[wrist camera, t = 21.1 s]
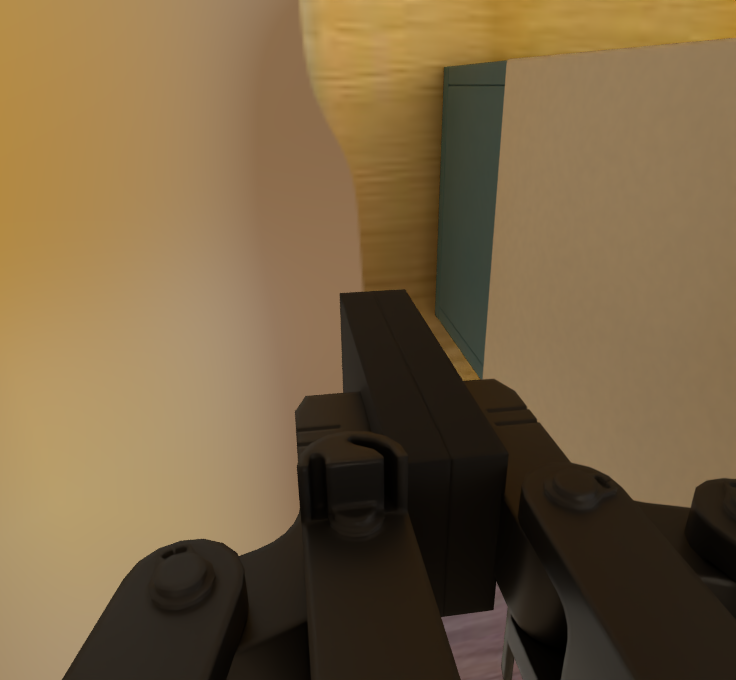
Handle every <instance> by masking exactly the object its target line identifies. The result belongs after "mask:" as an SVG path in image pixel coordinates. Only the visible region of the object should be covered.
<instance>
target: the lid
mask: <svg viewBox="0 0 736 680" xmlns="http://www.w3.org/2000/svg"><path fill="white" fill-rule="evenodd" d="M483 379H496V380H497V381H499V382H501V383H502V384H504V385H506V386H508V387H509V388H511V389H513V390H514V391H515V392H516V393H517V394H518V395H519V397H520V398H521V399H522V400H523V402H524V403H525V404H526V406H527V409H530V411H531V412H532V413H533V415H534V416H535V417H536V418H537V422H540V423H541V425H542V426H543V427H544V429H545V430H546V431H547V432H548V434H549V435H550V436H551V438H552V439H553V440H554V441H555V443H556V444H557V445H558V446H559V448H560V449H561V450H562V452H563V453H564V454H565V455H566V457H567V458H568V459H569V461H570V462H571V463H575V464H579V465H584V466H588V467H591V468H593V469H596V470H598V471H600V472H602V473H604V474H606V475H608V476H609V477H611V478H612V479H613V480H614V481H615V482H617V483H618V484H619V485H620V486H621V487H622V488H623V489H624V490H625V491H626V492H627V493H628V495H629V496H630V497H631V498H632V499H633V500H634V501H640V502H645V503H654V504H663V505H672V506H680V507H689V508H691V504H692V500H693V496H694V492H695V489H696V487H697V486H699V485H700V484H702V483H703V482H705V481H707V480H713V479H720V478H730V479H736V38H729V39H718V40H708V41H697V42H686V43H676V44H665V45H654V46H644V47H633V48H622V49H612V50H601V51H590V52H580V53H569V54H558V55H548V56H537V57H526V58H516V59H508V60H507V65H506V78H505V91H504V105H503V118H502V131H501V144H500V157H499V170H498V183H497V197H496V210H495V223H494V236H493V249H492V262H491V275H490V288H489V302H488V315H487V328H486V341H485V354H484V367H483Z"/></svg>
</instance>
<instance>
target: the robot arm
mask: <svg viewBox="0 0 736 680" xmlns="http://www.w3.org/2000/svg"><path fill="white" fill-rule="evenodd" d="M340 314H341V341H342V367H343V368H342V369H343V393H337V394H325V395H314V396H305V398H304V399H303V401H302V403H301V404H300V405H299V407H298V408H297V410H296V411H295V419H296V436H297V453H298V465H297V472H298V473H297V474H298V487H299V500H300V511H299V514H298V517H297V518H296V520H295V522H294V524H293V525H292V526H291V527H290V528H289V530H288V531H287V532H286V533H285V534H284V535H282V536H281V537H280V538H278V539H277V540H275V541H274V542H272V543H270V544H268V545H266V546H264V547H262V548H259V549H257V550H255V551H252V552H249V553H246V554H244V555H241V556H238V554H237V553H236V552H235V551H233V550H232V549H231V548H229V547H228V546H226V545H225V544H224V543H220V542H215V541H211V540H206V539H196V540H184V541H179V542H176V543H173V544H171V545H168V546H165V547H162V548H159V549H157V550H156V551H154V552H153V553H151V554H150V555H148V556H146V557H145V558H144V559H142V560H140V561H139V562H138V563H137V564H136V565H135V566H134V567H133V569H132V570H131V571H130V572H129V573H128V574H127V576H126V577H125V578H124V579H123V581H122V582H121V584H120V586H119V587H118V589H117V591H116V592H115V594H114V595H113V597H112V599H111V600H110V602H109V604H108V605H107V607H106V609H105V610H104V612H103V613H102V615H101V617H100V618H99V620H98V622H97V623H96V625H95V626H94V628H93V630H92V631H91V633H90V635H89V636H88V638H87V640H86V641H85V643H84V644H83V646H82V648H81V650H80V651H79V653H78V654H77V656H76V658H75V659H74V661H73V662H72V664H71V666H70V667H69V669H68V671H67V672H66V674H65V676H64V677H63V679H62V680H461V679H460V676H459V673H458V670H457V667H456V663H455V660H454V657H453V654H452V651H451V648H450V644H449V641H448V638H447V635H446V632H445V629H444V625H443V622H442V619H441V617H445V616H452V615H460V614H467V613H474V612H482V611H489V610H493V609H494V599H495V589H496V581H497V583H498V586H499V588H500V590H501V592H502V595H503V597H504V599H505V601H506V604H507V606H508V610H507V619H506V628H505V636H504V645H503V654H502V663H501V668H502V674H503V680H512V672H513V664H514V658H515V661H516V663H517V665H518V668H519V670H520V673H521V675H522V679H523V680H736V479H730V478H720V479H713V480H707V481H705V482H703V483H702V484H700V485H699V486H697V487H696V489H695V492H694V496H693V500H692V504H691V508H689V507H680V506H672V505H663V504H654V503H645V502H640V501H634V500H633V499H632V498H631V497H630V496H629V495H628V493H627V492H626V491H625V490H624V489H623V488H622V487H621V486H620V485H619V484H618V483H617V482H615V481H614V480H613V479H612V478H611V477H609V476H608V475H606V474H604V473H602V472H600V471H598V470H596V469H593V468H591V467H588V466H584V465H579V464H575V463H571V462H570V461H569V459H568V458H567V457H566V455H565V454H564V453H563V452H562V450H561V449H560V448H559V446H558V445H557V444H556V443H555V441H554V440H553V439H552V438H551V436H550V435H549V434H548V432H547V431H546V430H545V429H544V427H543V426H542V425H541V423H540V422H537V418H536V417H535V416H534V415H533V413H532V412H531V411H530V409H527V406H526V404H525V403H524V402H523V400H522V399H521V398H520V397H519V395H518V394H517V393H516V392H515V391H514V390H513V389H511V388H509V387H508V386H506V385H504V384H502V383H501V382H499V381H497V380H496V379H483V380H471V381H463V380H462V379H461V377H460V376H459V374H458V372H457V371H456V369H455V368H454V366H453V364H452V363H451V361H450V360H449V358H448V357H447V355H446V353H445V352H444V350H443V349H442V347H441V346H440V344H439V342H438V341H437V339H436V338H435V336H434V334H433V333H432V331H431V330H430V328H429V327H428V325H427V323H426V322H425V320H424V319H423V317H422V316H421V314H420V312H419V311H418V309H417V308H416V306H415V304H414V303H413V301H412V300H411V298H410V297H409V295H408V293H407V292H406V290H405V289H402V290H385V291H369V292H353V293H340Z"/></svg>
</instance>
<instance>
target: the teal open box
mask: <svg viewBox="0 0 736 680" xmlns="http://www.w3.org/2000/svg"><path fill="white" fill-rule="evenodd" d="M506 65H507V61H497V62H488V63H478V64H469V65H459V66H449V67H444V88H443V115H442V141H441V168H440V195H439V222H438V248H437V275H436V302H435V315H436V317H437V318H438V319H439V320H440V322H441V323H442V325H443V326H444V328H445V329H446V330H447V332H448V333H449V335H450V336H451V338H452V339H453V340H454V342H455V343H456V345H457V346H458V348H459V349H460V350H461V352H462V353H463V355H464V356H465V358H466V359H467V361H468V362H469V363H470V365H471V366H472V368H473V369H474V371H475V372H476V373H477V375H478V376H479V378H480V379H481V380H483V367H484V354H485V341H486V328H487V315H488V302H489V288H490V275H491V262H492V249H493V236H494V223H495V210H496V197H497V183H498V170H499V157H500V144H501V131H502V118H503V105H504V91H505V78H506Z"/></svg>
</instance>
